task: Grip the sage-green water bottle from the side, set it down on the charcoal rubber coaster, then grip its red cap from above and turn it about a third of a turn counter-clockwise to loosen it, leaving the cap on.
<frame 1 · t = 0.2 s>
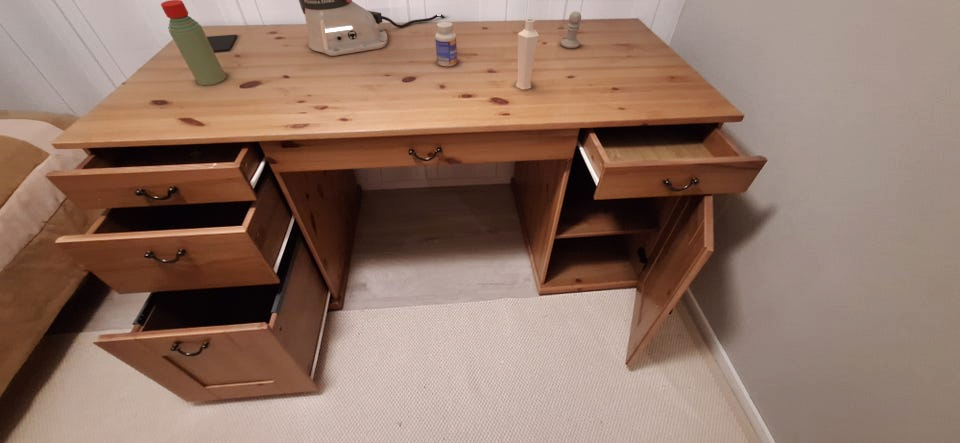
coaster: (213, 45, 109), on the table
pill bottle: (447, 63, 102), on the table
chess piece: (569, 46, 110), on the table
bottle: (211, 79, 94), on the table
perfume bottle: (522, 86, 93), on the table
cap: (172, 4, 82), point 17 cm above the table, screwed on, not yet turned
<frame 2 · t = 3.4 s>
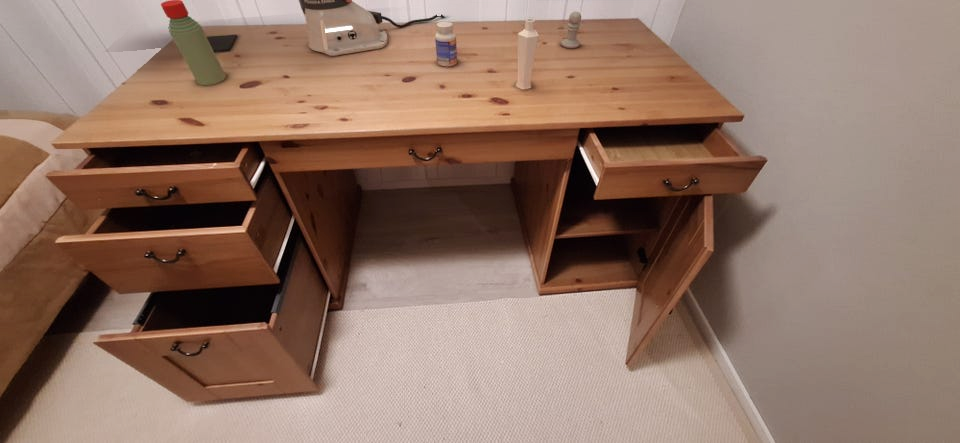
nothing on the table moved.
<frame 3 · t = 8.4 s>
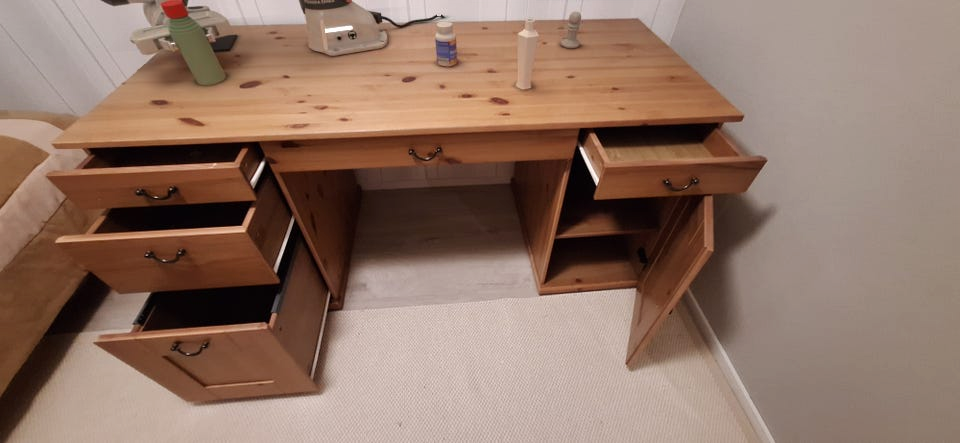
hand: (193, 43, 87), 9 cm above the table, tool horizontal, fingers closed on bottle, 6 cm apart
bottle: (211, 79, 94), on the table, touching gripper
everything else where it was.
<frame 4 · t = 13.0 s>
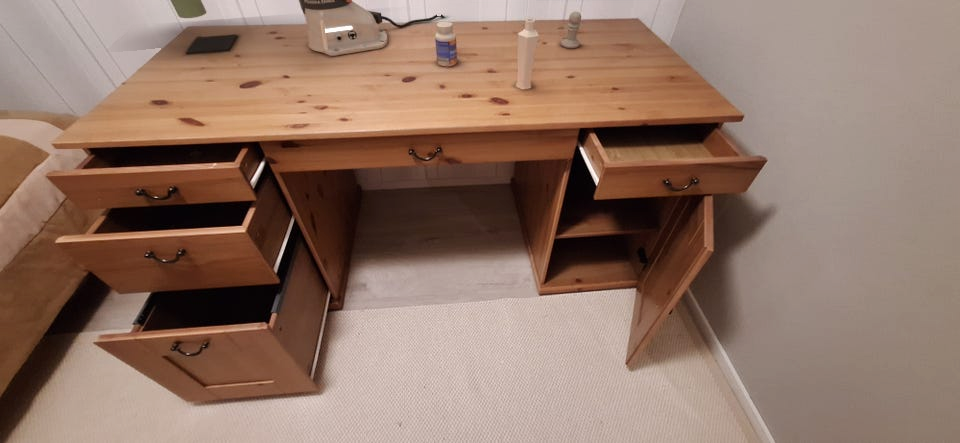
bottle: (192, 13, 98), point 10 cm above the table, touching gripper
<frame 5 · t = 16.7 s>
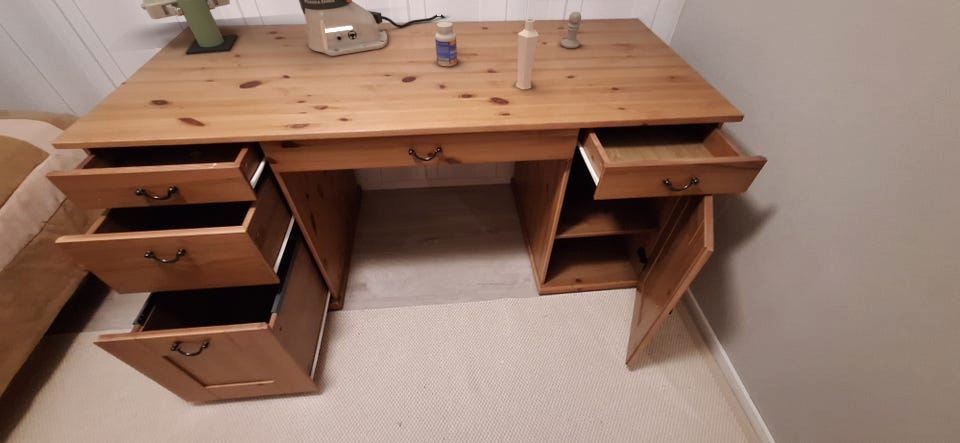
hand: (196, 9, 101), 10 cm above the table, tool horizontal, fingers closed on bottle, 6 cm apart
bottle: (211, 42, 108), point 1 cm above the table, touching coaster, gripper
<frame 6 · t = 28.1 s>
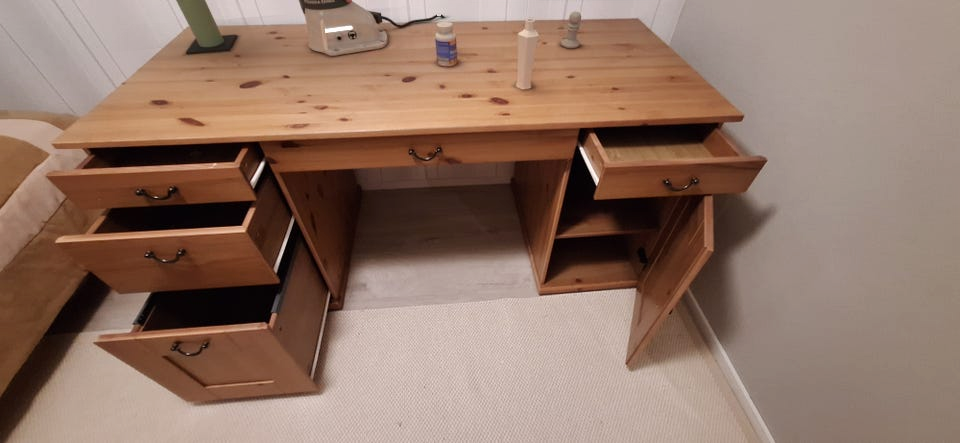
bottle: (211, 42, 108), point 1 cm above the table, touching coaster
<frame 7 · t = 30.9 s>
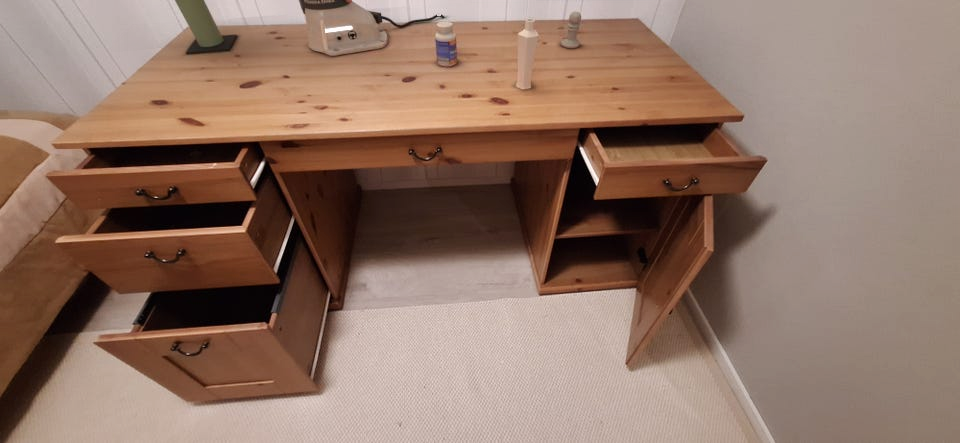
bottle: (211, 42, 108), point 1 cm above the table, touching coaster, gripper
when the fingers open (15 cm above the table, at t = 32.0 s): cap moves 2 cm, point 18 cm above the table.
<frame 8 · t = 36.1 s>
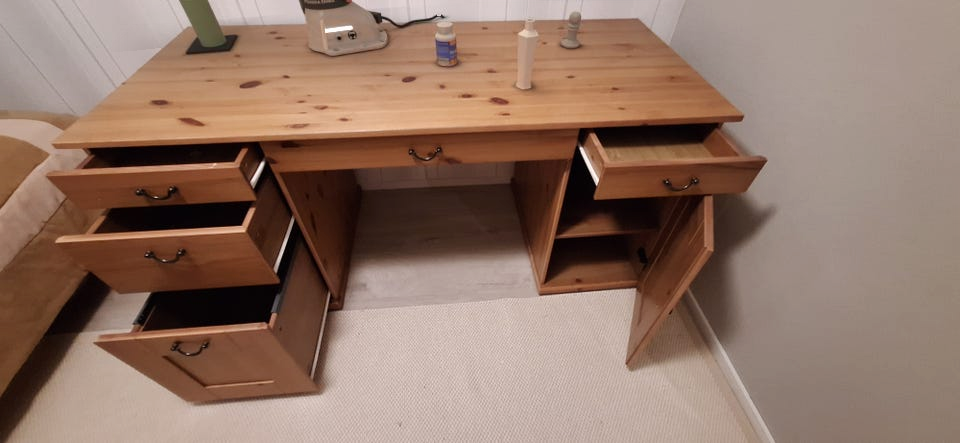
bottle: (214, 42, 108), point 1 cm above the table, touching coaster
at the end: bottle inside the target area on the coaster (0.6 cm from its centre), point 0.6 cm above the coaster's base; cap turned 0.39 turns (still on its thread); cap is still on its thread (0.39 turns) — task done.
